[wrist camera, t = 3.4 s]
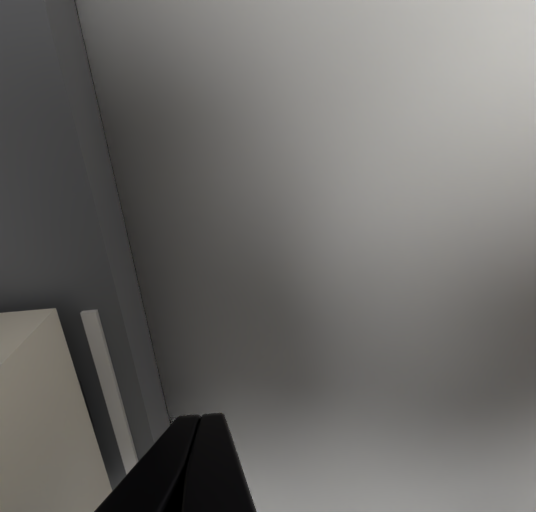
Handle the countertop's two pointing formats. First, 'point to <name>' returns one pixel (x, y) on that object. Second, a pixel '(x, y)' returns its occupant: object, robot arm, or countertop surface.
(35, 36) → the console
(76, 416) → the block
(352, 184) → the countertop surface
